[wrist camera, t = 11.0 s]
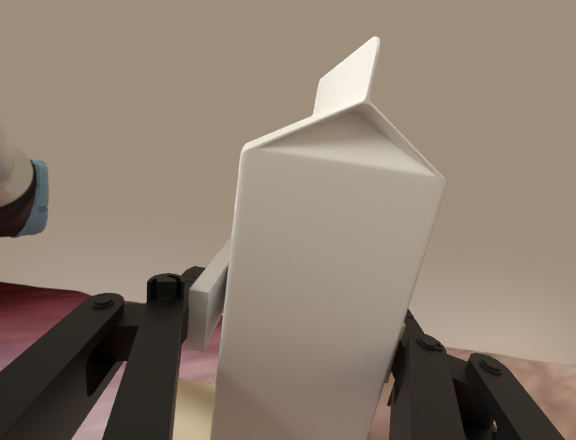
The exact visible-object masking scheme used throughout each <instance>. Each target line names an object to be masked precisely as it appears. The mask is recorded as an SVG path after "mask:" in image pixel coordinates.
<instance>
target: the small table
mask: <svg viewBox="0 0 576 440" xmlns="http://www.w3.org/2000/svg"><path fill="white" fill-rule="evenodd" d="M215 387H216V384H211V383H205V382H199V381H193V380H187V379H181V378H179V379H178V387H177V398H176V408H175V419H174V429H173V439H172V440H210V434H211V425H212V415H213V406H214V397H215ZM367 440H371V437H370V433H368V437H367Z"/></svg>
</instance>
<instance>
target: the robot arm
mask: <svg viewBox="0 0 576 440" xmlns="http://www.w3.org/2000/svg"><path fill="white" fill-rule="evenodd" d="M48 188H49V186H48V169H47V166H46V164H45V163H44V162H43V161H40V160H35V159H32V158H28V157H27V156H26V154H25V153H24V152H23V151H22V150H21V149H19V148H18V147H17V146H16V145H14V144H12V143H11V142H9V141H8V139H7V136H6V133H5V130H4V127H3V125H2V121H1V119H0V237H12V238H17V237H20V236H23V235H35V234H38V233H41V232H42V231H43V230H44V229H45V227H46V224H47V217H48V208H47V207H48V196H49V195H48V194H49V190H48ZM231 238H232V236H231V237H230V238H229V239H228V241H227V242H226V243H225V245H224V246H223V247H222V248H221V250H220V251H219V252H218V254H217V255H216V256H215V257H214V259H213V260H212V261H211V262H210V264H209V265H208V266H207V267H206V268H203V267H197V266H194V267H192V268H190V269H187V270H186V271H185V272H184V273H183V274H182V276H180V275H177V274H170V273H166V274H159V275H155V276H153V277H152V278H150V279H149V280H148V282H147V302H146V303H145V304H133V305H124V298H123V297H122V296H121V295H119V294H115V293H103V294H98V295H95V296H92V297H89V298H88V299H86V300H85V301H83V302H82V303H81V304H80V305H79V306H77V307H76V308H75V309H74V310H73V311H71V312H70V313H69V314H68V315H67V316H66V317H64V318H63V319H62V320H61V321H60V322H58V323H57V324H56V325H55V326H54V327H53V328H51V329H50V330H49V331H48V332H47V333H46V334H44V335H43V336H42V337H41V338H40V339H38V340H37V341H36V342H35V343H34V344H33V345H31V346H30V347H29V348H28V349H27V350H25V351H24V352H23V353H22V354H21V355H20V356H18V357H17V358H16V359H15V360H14V361H12V362H11V363H10V364H9V365H8V366H7V367H5V368H4V369H3V370H2V371H1V372H0V440H71V439H72V437H73V436H74V434H75V433H76V431H77V430H78V428H79V427H80V425H81V424H82V422H83V421H84V420H85V418H86V417H87V415H88V414H89V412H90V411H91V409H92V408H93V406H94V405H95V403H96V402H97V400H98V399H99V397H100V396H101V394H102V393H103V391H104V390H105V388H106V387H107V386H108V384H109V383H110V381H111V380H112V378H113V377H114V375H115V374H116V372H117V371H118V369H119V368H120V366H121V365H122V363H123V361H127V364H126V367H125V370H124V373H123V376H122V380H121V383H120V386H119V389H118V392H117V395H116V398H115V401H114V404H113V407H112V411H111V414H110V417H109V420H108V423H107V426H106V429H105V432H104V435H103V438H102V440H172V439H173V429H174V419H175V408H176V398H177V387H178V377H179V367H180V356H181V345H182V344H183V342H184V340H185V339H186V347H185V349H189V350H195V351H201V352H204V350H205V348H206V346H207V344H208V342H209V340H210V338H211V336H212V334H213V332H214V329H215V327H216V325H217V323H218V321H219V319H220V317H221V315H222V313H223V311H224V303H225V294H226V284H227V275H228V266H229V256H230V247H231ZM391 371H392V374H393V376H394V379H395V382H394V385H393V388H392V391H391V394H390V397H389V401H388V404H387V406H390V405H391V415H390V434H389V440H565V439H564V438H563V436H562V435H561V434H560V433H559V431H558V430H557V429H556V428H555V426H554V425H553V424H552V423H551V421H550V420H549V419H548V418H547V416H546V415H545V414H544V413H543V411H542V410H541V409H540V408H539V406H538V405H537V404H536V403H535V401H534V400H533V399H532V398H531V396H530V395H529V394H528V393H527V391H526V390H525V389H524V388H523V386H522V385H521V384H520V383H519V381H518V380H517V379H516V378H515V376H514V375H513V374H512V373H511V371H510V370H509V369H508V368H506V367H505V366H504V365H503V364H502V363H500V362H499V361H498V360H496V359H494V358H492V357H490V356H487V355H484V354H480V353H473V354H471V355H470V358H469V360H468V362H467V361H464V360H461V359H459V358H456V357H453V356H451V355H448V354H447V353H446V350H445V348H444V346H443V345H442V344H441V343H440V342H439V341H437V340H436V339H435V338H433V337H431V336H429V335H427V334H424V332H423V331H422V329H421V327H420V326H419V324H418V323H417V321H416V320H415V319H414V317H413V315H412V314H411V312H410V311H409V309H408V310H407V313H406V316H405V319H404V322H403V326H402V329H401V332H400V335H399V338H398V341H397V345H396V348H395V351H394V354H393V357H392V360H391V364H390V367H389V370H388V373H387V376H386V380H385V383H388V380H389V377H390V374H391ZM494 420H495V422H496V426H497V429H496V428H495V426H494V424H493V422H494Z"/></svg>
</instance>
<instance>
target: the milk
mask: <svg viewBox="0 0 576 440" xmlns="http://www.w3.org/2000/svg"><path fill="white" fill-rule="evenodd" d="M379 50H380V39H379V38H378V37H373V38H371V39H370V40H369V41H368V42H366V43H365V44H364V45H362V46H361V47H360V48H359V49H358V50H356V51H355V52H354V53H352V54H351V55H350V56H349V57H348V58H346V59H345V60H344V61H343V62H341V63H340V64H339V65H337V66H336V67H335V68H334V69H332V70H331V71H330V72H329V73H327V74H326V75H325V76H324V77H322V78H321V79H320V82H319V85H318V90H317V95H316V101H315V106H314V112H313V115H312V116H311V117H309V118H306V119H304V120H301V121H299V122H297V123H294V124H292V125H289V126H287V127H284V128H282V129H279V130H277V131H275V132H272V133H270V134H267V135H265V136H263V137H260V138H258V139H256V140H253V141H250V142H249V143H246V144H245V145H244V147H243V149H242V151H241V155H240V163H239V172H238V182H237V191H236V200H235V210H234V219H233V229H232V238H231V247H230V256H229V266H228V275H227V284H226V294H225V303H224V313H223V322H222V331H221V341H220V350H219V359H218V369H217V378H216V387H215V397H214V406H213V415H212V425H211V434H210V440H367V437H368V433H369V430H370V427H371V424H372V421H373V418H374V414H375V411H376V408H377V405H378V402H379V399H380V395H381V392H382V389H383V386H384V383H385V380H386V376H387V373H388V370H389V367H390V364H391V360H392V357H393V354H394V351H395V348H396V345H397V341H398V338H399V335H400V332H401V329H402V326H403V322H404V319H405V316H406V313H407V310H408V306H409V303H410V300H411V297H412V294H413V291H414V287H415V284H416V281H417V278H418V275H419V272H420V268H421V265H422V262H423V259H424V256H425V253H426V249H427V246H428V243H429V240H430V236H431V233H432V230H433V227H434V224H435V221H436V218H437V214H438V211H439V208H440V205H441V202H442V199H443V195H444V192H445V189H446V185H447V181H446V180H445V178H444V177H443V176H442V175H441V174H440V173H439V172H438V171H437V170H436V169H435V168H434V167H433V166H432V165H431V164H430V163H429V162H428V161H427V160H426V159H425V158H424V157H423V156H422V155H421V154H420V152H419V151H418V150H417V149H416V148H414V146H413V145H412V144H411V143H410V142H409V141H408V140H407V139H406V138H405V137H404V136H403V135H402V134H401V133H400V132H399V131H398V130H397V129H396V128H395V127H394V126H393V125H392V124H391V123H390V122H389V120H388V119H387V118H386V117H385V116H384V115H383V114H382V113H381V112H380V111H379V110H378V109H377V108H376V107H375V106H374V105H373V104H372V103H371V101H370V93H371V88H372V83H373V79H374V74H375V69H376V65H377V60H378V55H379Z"/></svg>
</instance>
